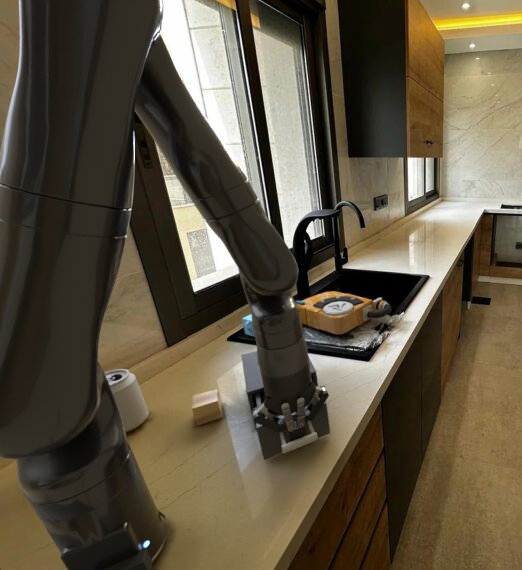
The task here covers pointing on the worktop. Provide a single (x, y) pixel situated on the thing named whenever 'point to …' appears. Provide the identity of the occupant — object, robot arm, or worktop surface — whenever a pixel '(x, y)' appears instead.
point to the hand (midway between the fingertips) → (298, 440)
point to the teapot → (248, 325)
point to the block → (207, 407)
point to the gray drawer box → (255, 379)
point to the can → (127, 398)
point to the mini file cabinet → (280, 442)
